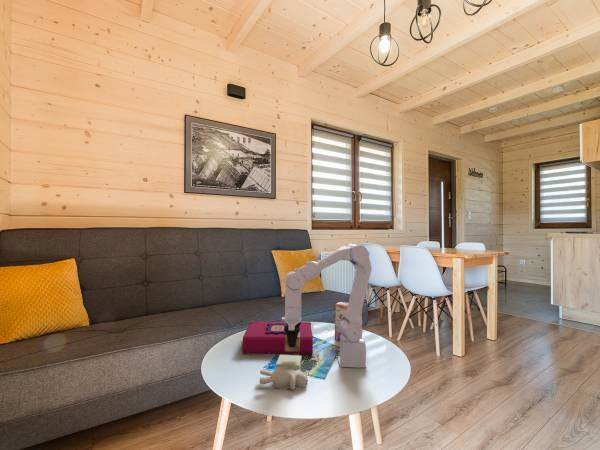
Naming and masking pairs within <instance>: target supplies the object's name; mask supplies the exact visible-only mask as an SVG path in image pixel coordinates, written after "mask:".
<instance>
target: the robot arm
mask: <svg viewBox="0 0 600 450" xmlns="http://www.w3.org/2000/svg"><path fill="white" fill-rule="evenodd" d="M340 261H348V262H350V263H351V264H352V266H353V267H354V268H355V274H354V278H353V283H352V286H351V291H350V293H349V294H350V295H349V299H348V302H347V303H348V306H347V310H346V312H344V313H343V316H342V318H341V320H340V321H339V323H338V329H339V331H340V332H341V335H340V341H339V356H337V360H338V361H337V362H338V365H339V368H364V369H365V368H367V364H366V363H367V346H366V340H365V339H364V338H362V339H360V338H361V337H363V329H362V328H363V318H362V319H361V311H362V312H363V308H364V307H363V306H364V302H365V298H366V293H367V290H368V285H369V281H370V277H371V273H372V264H371V260H370V252H369V251H368V249H367V248H366V246H364V245H362V244H354V243H347V244H345V245H342V246H340V247H338V249H336V250H334V251H333V252H331V253H329V254H328V255H326V256H324V257H323V258H321V259H320V260H318V261H314V260H311V261H310V260H307V261H306V262H305V264H304V265H302V266H301V267H299V268H298V267H296V268H294V271H289V272H287V273H286V274H285V276H284V279H283V282H284V284H285V293H284V296H285V297H284V299H285V300H284V302H285V303H284V305H285V306H284V316H282V317H281V322H286V324H287V326H284V331H285V333H286V335H287V339H288V345H289V347H291V348H295V346H296V340H297V336H298V333H299V331H300V328H299V326H300V324H301V322H302V288H303V286H304V284H306V283H308V282H310V281H312V280H313V279H315V278H317V277H318V276H320V275H321V273H322V271H323V270H324V269H326V268H328V267H330V266H332V265H334V264H336V263H338V262H340Z"/></svg>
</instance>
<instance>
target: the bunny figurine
mask: <svg viewBox="0 0 600 450" xmlns="http://www.w3.org/2000/svg"><path fill="white" fill-rule="evenodd" d="M259 374H260V375H262V377H260V378H259V382H258V383H259V384H260V385H268V384H270V383H272V384H273V386H274V387H275V388H276V389H281V390H286V389H288V388H290V390H295V389H302V388H304V387H305V386H308V382H309V379H308V377H307V376H308V375H307V374H305V373H304V372H303V371H302V370H301V369H300V370H296V371H294V369H288V368H286V367H277V368H276V367H275V369H274V371H269V370H267V369H264V368H262V369H261V370H260V371H259Z"/></svg>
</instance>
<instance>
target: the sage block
mask: <svg viewBox="0 0 600 450" xmlns="http://www.w3.org/2000/svg"><path fill="white" fill-rule="evenodd" d="M302 358H303V356H302V355H296V354H294V355H293V354H279V356H278V358H277V361H276V364H275V369H276V368H277V367H286V368H288V369H294V371H296V370H301V368H302V360H303V359H302Z"/></svg>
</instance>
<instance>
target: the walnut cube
mask: <svg viewBox="0 0 600 450" xmlns="http://www.w3.org/2000/svg"><path fill="white" fill-rule="evenodd" d="M299 350H300V332H299V333H298V336H297V340H296V346H295V348H291V347H289V345H288V339H287V335H286V336H285V351H297V352H299Z"/></svg>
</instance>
